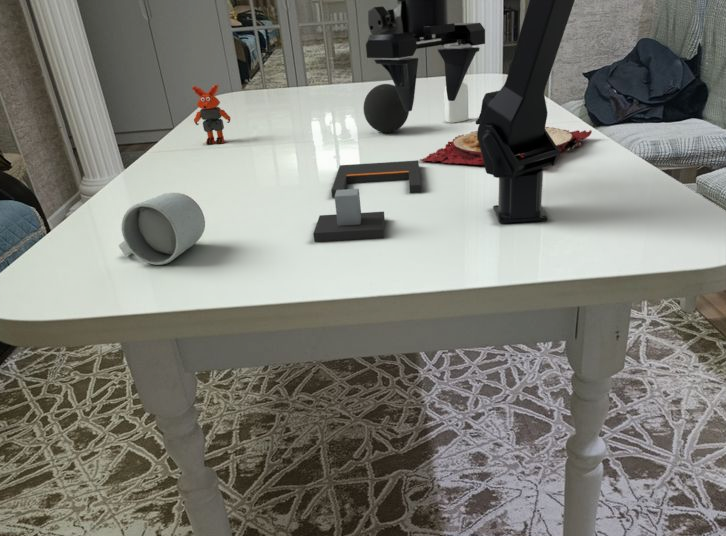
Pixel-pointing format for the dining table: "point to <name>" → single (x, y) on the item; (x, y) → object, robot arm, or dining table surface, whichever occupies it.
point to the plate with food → (470, 152)
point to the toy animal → (210, 114)
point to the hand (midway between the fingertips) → (430, 105)
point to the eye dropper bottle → (457, 105)
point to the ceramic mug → (162, 228)
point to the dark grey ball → (384, 109)
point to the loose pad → (349, 231)
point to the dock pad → (378, 174)
